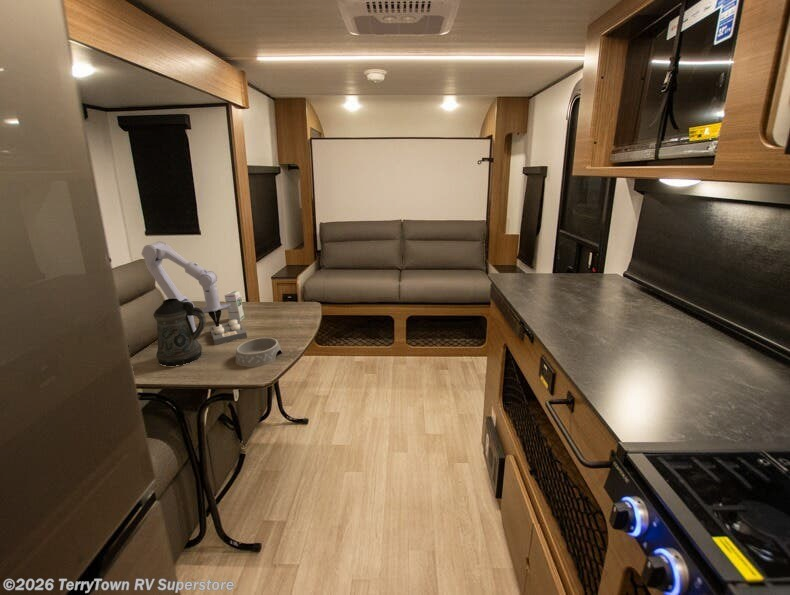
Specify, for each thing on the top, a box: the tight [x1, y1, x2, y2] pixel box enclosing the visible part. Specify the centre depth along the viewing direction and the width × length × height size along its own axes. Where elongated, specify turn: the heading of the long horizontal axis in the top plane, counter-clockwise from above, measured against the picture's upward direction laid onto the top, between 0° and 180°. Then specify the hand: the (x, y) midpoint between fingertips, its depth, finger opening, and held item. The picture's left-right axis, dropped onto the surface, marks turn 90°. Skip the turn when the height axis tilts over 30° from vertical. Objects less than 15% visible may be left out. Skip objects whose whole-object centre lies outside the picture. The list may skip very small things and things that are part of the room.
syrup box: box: [224, 290, 246, 322], centre depth 205 cm, size 6×6×14 cm
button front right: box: [231, 324, 241, 331], centre depth 187 cm, size 4×4×3 cm
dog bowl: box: [235, 336, 283, 368], centre depth 163 cm, size 17×18×5 cm
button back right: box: [227, 319, 238, 327], centre depth 193 cm, size 4×4×3 cm
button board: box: [209, 320, 248, 345], centre depth 188 cm, size 14×19×3 cm
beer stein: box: [153, 298, 207, 366], centre depth 163 cm, size 16×19×25 cm
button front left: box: [214, 327, 225, 335], centre depth 184 cm, size 4×4×3 cm
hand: (217, 326), depth 190 cm, fingers closed, pressing on button back left
